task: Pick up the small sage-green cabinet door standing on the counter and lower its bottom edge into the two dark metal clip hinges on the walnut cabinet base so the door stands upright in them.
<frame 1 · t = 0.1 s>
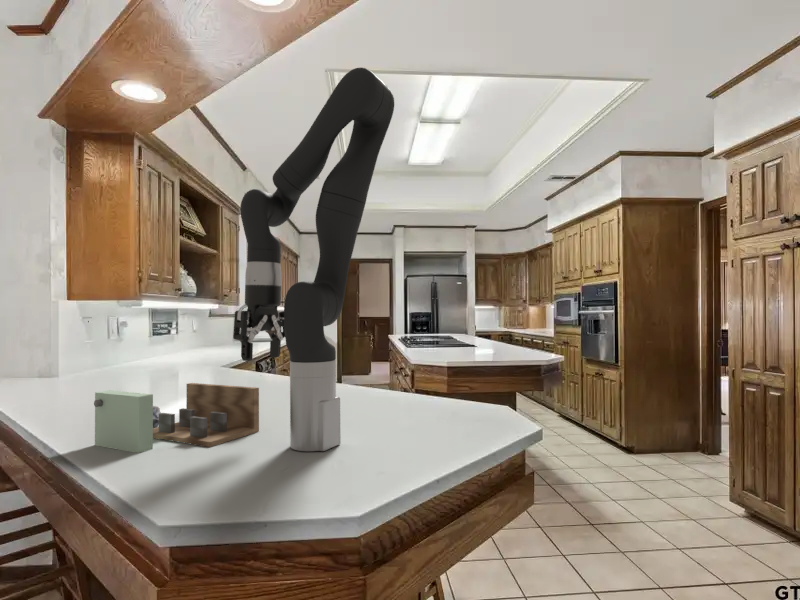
hand: (261, 358, 101), 17 cm above the countertop, tool pointing down, fingers open, 8 cm apart
hinge base: (192, 435, 104), on the countertop
cabinet door: (123, 447, 96), on the countertop
mineral specimen: (148, 426, 115), on the countertop
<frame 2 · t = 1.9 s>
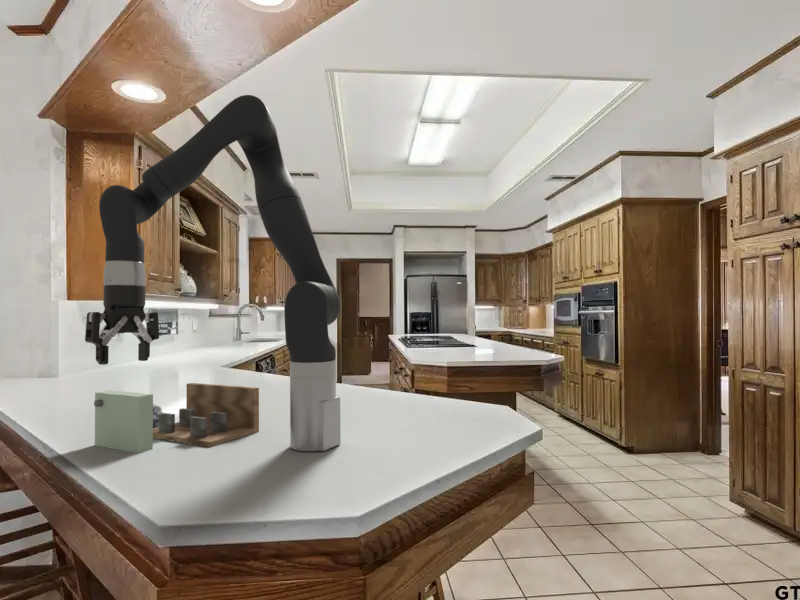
hand: (124, 362, 96), 17 cm above the countertop, tool pointing down, fingers open, 8 cm apart
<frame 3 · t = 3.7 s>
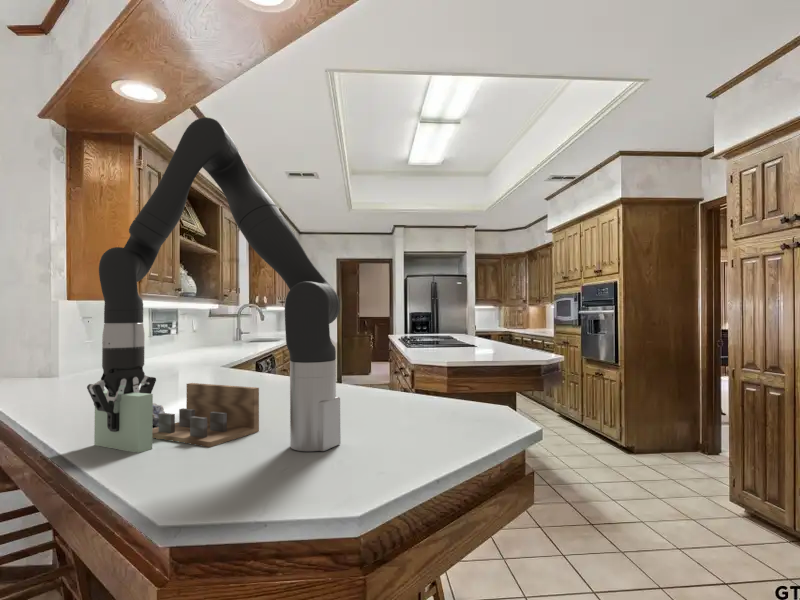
hand: (123, 428, 96), 4 cm above the countertop, tool pointing down, fingers closed on cabinet door, 3 cm apart
cabinet door: (122, 446, 96), on the countertop, touching gripper
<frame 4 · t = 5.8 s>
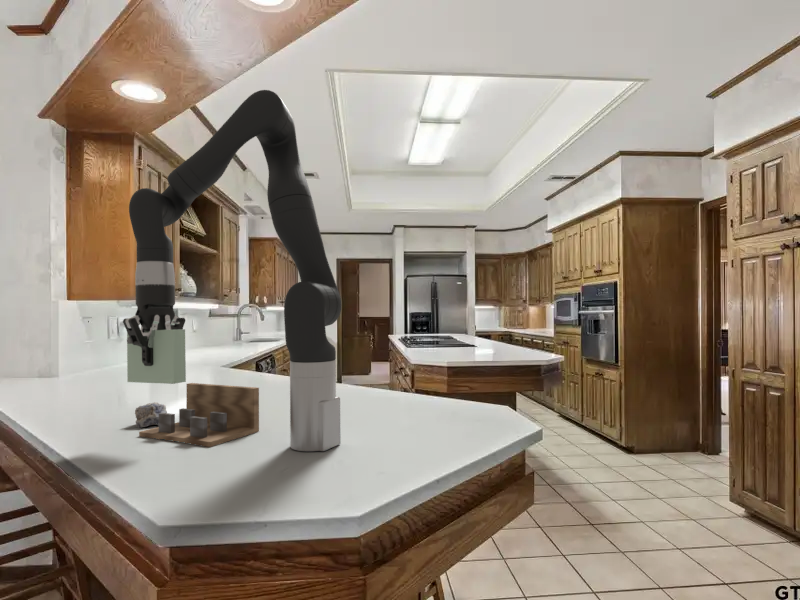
hand: (156, 364, 99), 16 cm above the countertop, tool pointing down, fingers closed on cabinet door, 3 cm apart
cabinet door: (156, 381, 99), point 13 cm above the countertop, touching gripper
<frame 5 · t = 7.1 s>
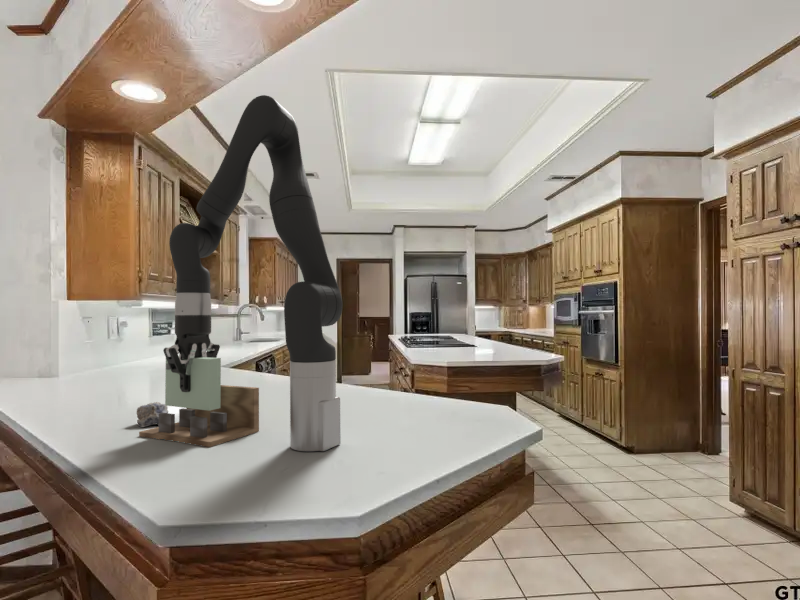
hand: (192, 390, 105), 10 cm above the countertop, tool pointing down, fingers closed on cabinet door, 3 cm apart
cabinet door: (192, 406, 104), point 6 cm above the countertop, touching gripper
when the fingers open (6 cm above the countertop, at t = 8.2 s): cabinet door drops 1 cm, resting on hinge base.
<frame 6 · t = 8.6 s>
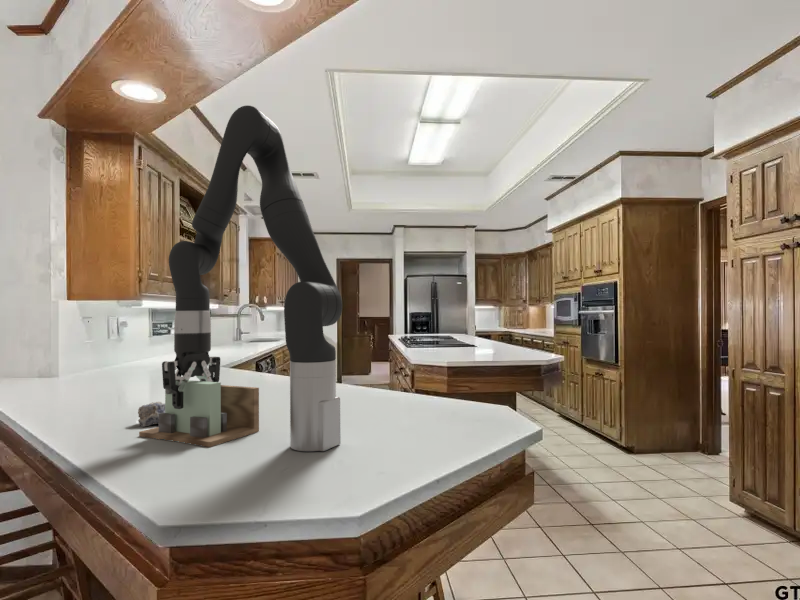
hand: (192, 405, 104), 7 cm above the countertop, tool pointing down, fingers open, 6 cm apart
cabinet door: (192, 431, 104), point 1 cm above the countertop, touching hinge base
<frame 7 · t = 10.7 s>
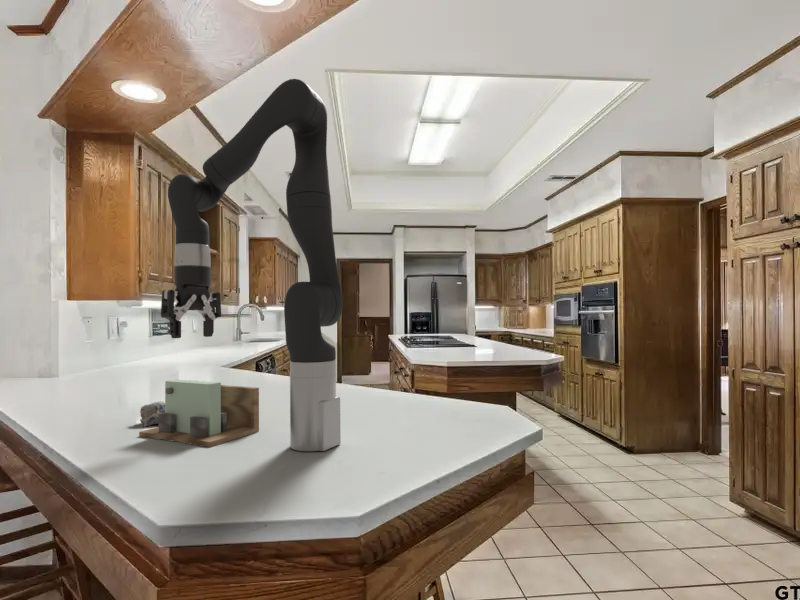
hand: (192, 337, 105), 22 cm above the countertop, tool pointing down, fingers open, 8 cm apart
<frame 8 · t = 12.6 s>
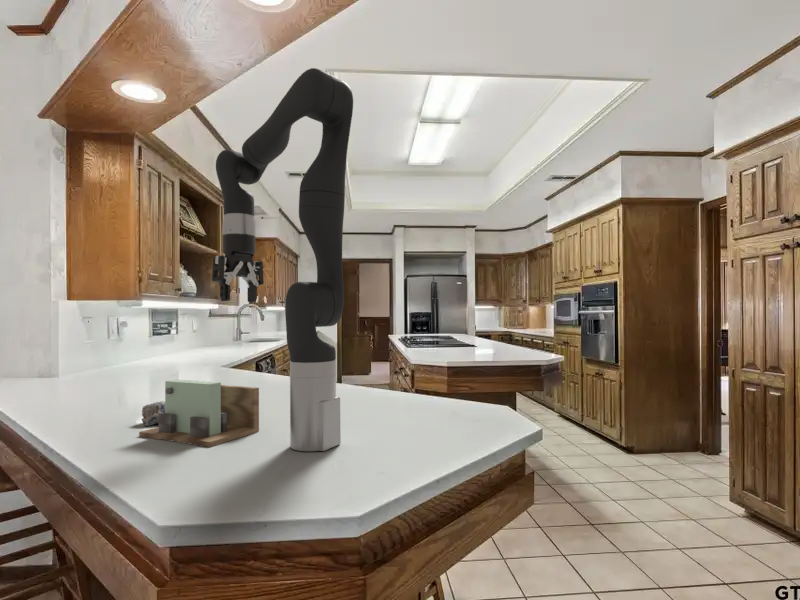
hand: (239, 301, 112), 30 cm above the countertop, tool pointing down, fingers open, 8 cm apart
at the end: cabinet door 0.0 cm off-centre on the hinge base, point 1.0 cm above the hinge base's base; cabinet door tilted 0°; the gripper is holding nothing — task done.
